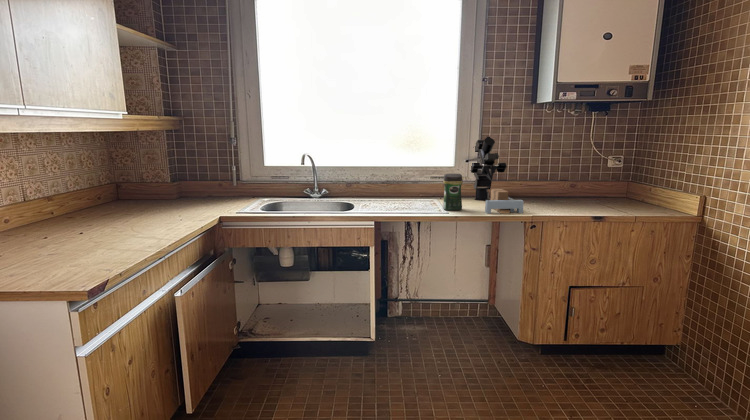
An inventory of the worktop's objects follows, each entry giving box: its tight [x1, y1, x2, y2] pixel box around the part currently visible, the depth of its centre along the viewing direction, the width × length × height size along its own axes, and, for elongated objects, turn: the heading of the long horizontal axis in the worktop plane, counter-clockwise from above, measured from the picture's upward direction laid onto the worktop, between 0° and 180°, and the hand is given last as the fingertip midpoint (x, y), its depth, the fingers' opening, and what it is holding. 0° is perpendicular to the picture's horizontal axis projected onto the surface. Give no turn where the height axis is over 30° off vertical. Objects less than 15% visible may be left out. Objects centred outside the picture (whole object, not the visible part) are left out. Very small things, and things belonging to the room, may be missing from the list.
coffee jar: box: [442, 173, 463, 212], centre depth 224 cm, size 10×8×19 cm
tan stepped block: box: [489, 187, 511, 214], centre depth 222 cm, size 16×5×10 cm, turn 3°
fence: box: [484, 196, 525, 214], centre depth 221 cm, size 12×18×6 cm, turn 93°
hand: (491, 179), depth 236 cm, fingers closed
